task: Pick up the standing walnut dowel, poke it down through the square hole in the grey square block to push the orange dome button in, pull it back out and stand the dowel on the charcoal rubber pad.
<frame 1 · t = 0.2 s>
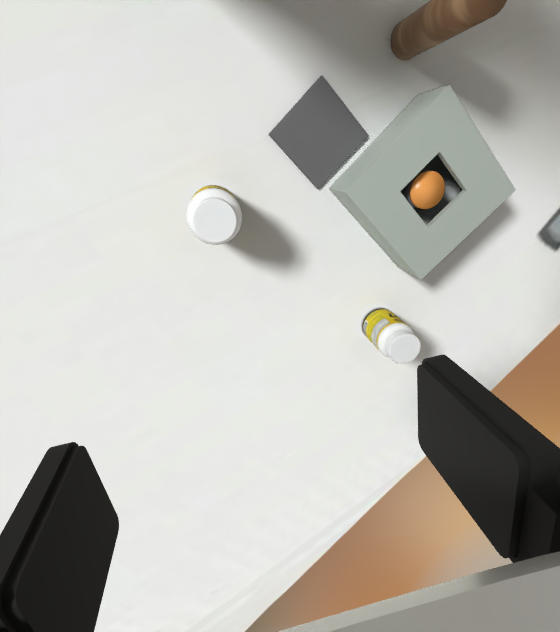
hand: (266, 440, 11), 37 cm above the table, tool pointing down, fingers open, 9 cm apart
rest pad: (318, 135, 42), on the table
dowel: (406, 40, 40), on the table
orange dome button: (421, 189, 43), point 3 cm above the table, slide at 0.0 cm
supplement bottle 2: (376, 321, 53), on the table
grey square block: (407, 187, 46), on the table
supplement bottle: (213, 209, 44), on the table
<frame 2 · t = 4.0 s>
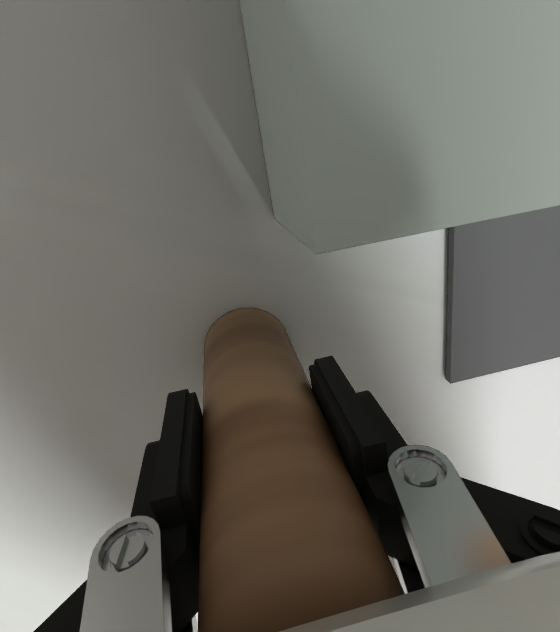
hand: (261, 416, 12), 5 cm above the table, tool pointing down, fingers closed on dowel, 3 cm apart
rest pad: (529, 284, 17), on the table
dowel: (246, 347, 16), on the table, touching gripper
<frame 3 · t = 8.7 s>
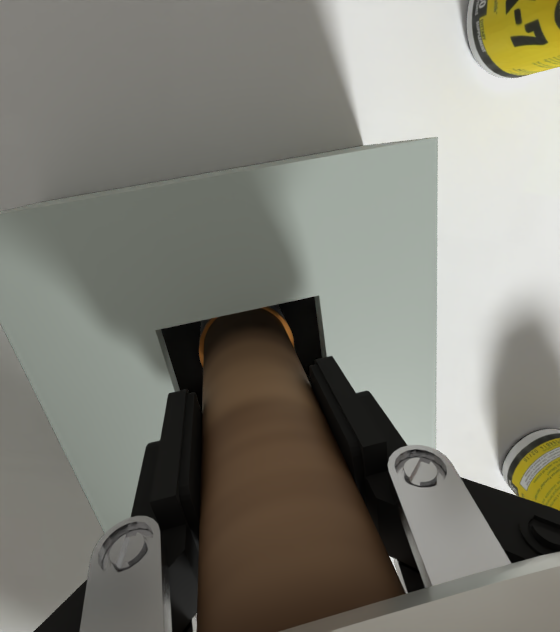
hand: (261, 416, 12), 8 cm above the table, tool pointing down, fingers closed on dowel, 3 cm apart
dowel: (246, 345, 16), point 3 cm above the table, touching gripper, orange dome button
orange dome button: (244, 335, 17), point 2 cm above the table, slide at 1.4 cm, touching dowel
supplement bottle 2: (510, 18, 16), on the table
grey square block: (241, 319, 19), on the table
supplement bottle: (532, 455, 27), on the table
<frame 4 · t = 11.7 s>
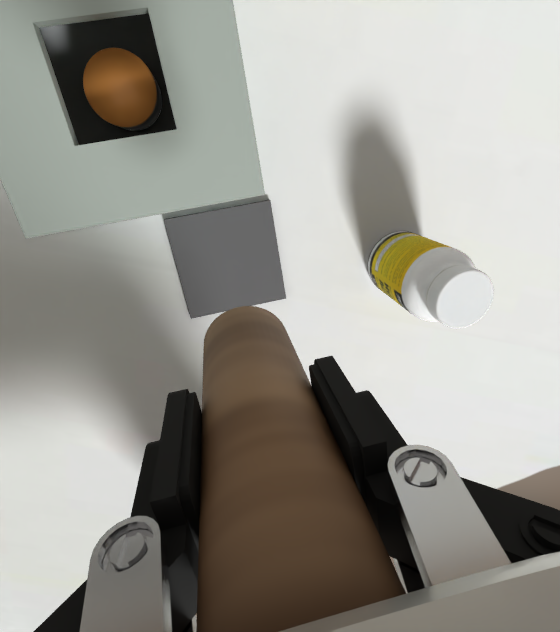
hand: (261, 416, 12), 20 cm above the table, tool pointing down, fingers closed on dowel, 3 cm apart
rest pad: (228, 260, 30), on the table
dowel: (246, 345, 16), point 16 cm above the table, touching gripper
orange dome button: (125, 92, 23), point 2 cm above the table, slide at 1.5 cm
grey square block: (131, 97, 25), on the table
supplement bottle: (394, 261, 33), on the table
when the fingers open (6 cm above the table, at t = 14.5 s): dowel stays where it is, resting on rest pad.
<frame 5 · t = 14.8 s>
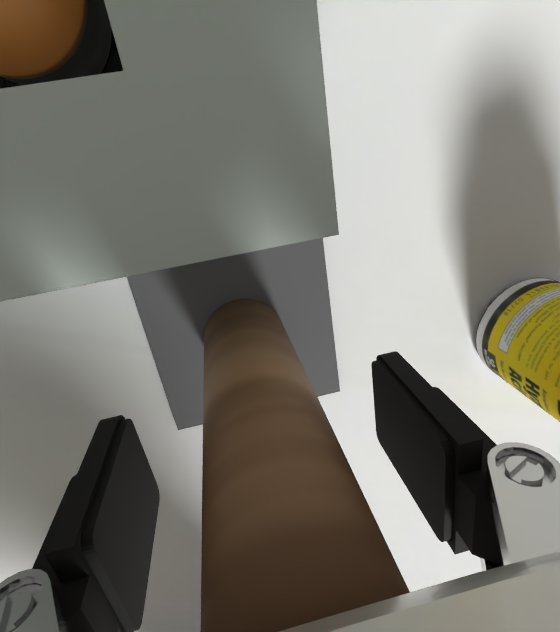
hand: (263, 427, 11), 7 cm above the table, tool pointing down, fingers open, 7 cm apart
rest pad: (243, 333, 17), on the table
dowel: (244, 336, 17), resting on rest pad
orange dome button: (19, 1, 10), point 2 cm above the table, slide at 1.5 cm
grey square block: (46, 23, 12), on the table
supplement bottle: (516, 324, 20), on the table
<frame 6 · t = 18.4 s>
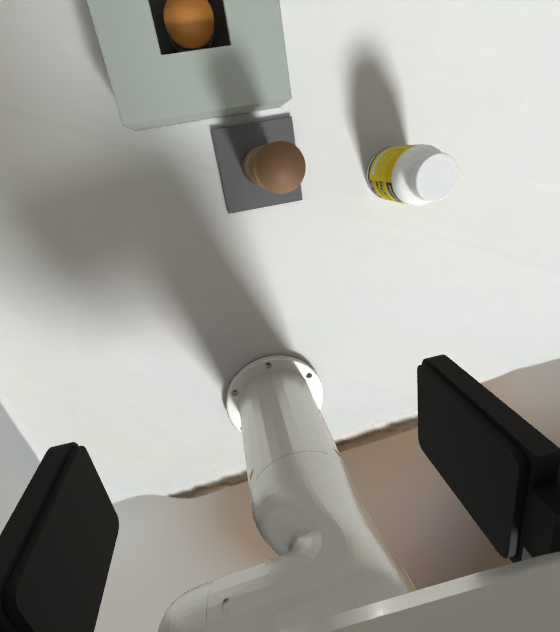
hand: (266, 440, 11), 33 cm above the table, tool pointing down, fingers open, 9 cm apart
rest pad: (258, 166, 39), on the table
dowel: (259, 166, 39), resting on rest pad
orange dome button: (190, 24, 32), point 2 cm above the table, slide at 1.5 cm
grey square block: (190, 31, 34), on the table
supplement bottle: (387, 173, 42), on the table
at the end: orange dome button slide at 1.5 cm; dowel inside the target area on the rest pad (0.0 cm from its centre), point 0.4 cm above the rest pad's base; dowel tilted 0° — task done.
